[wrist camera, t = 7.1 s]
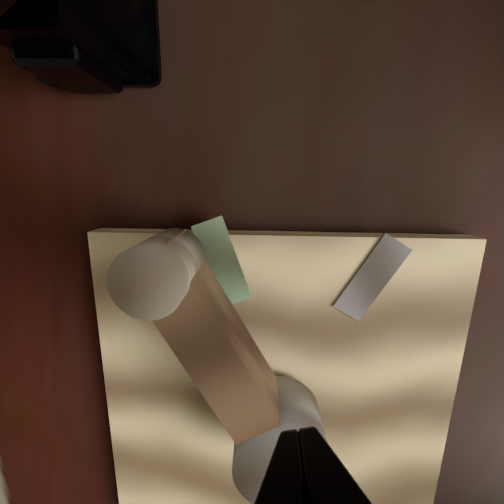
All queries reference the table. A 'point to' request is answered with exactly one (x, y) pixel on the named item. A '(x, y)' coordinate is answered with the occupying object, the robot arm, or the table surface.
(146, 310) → the wooden dumbbell
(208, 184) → the table surface
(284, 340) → the striped placemat
